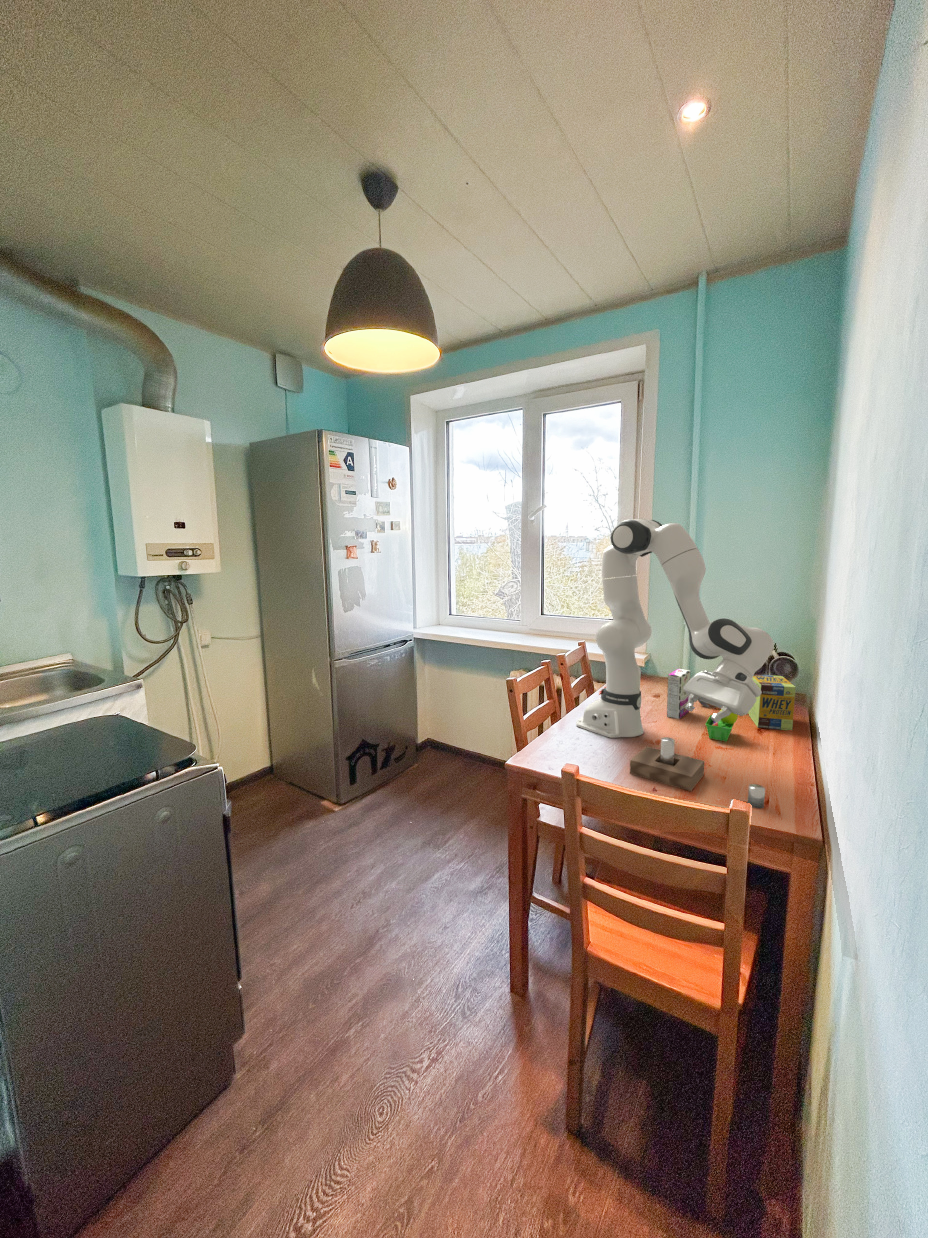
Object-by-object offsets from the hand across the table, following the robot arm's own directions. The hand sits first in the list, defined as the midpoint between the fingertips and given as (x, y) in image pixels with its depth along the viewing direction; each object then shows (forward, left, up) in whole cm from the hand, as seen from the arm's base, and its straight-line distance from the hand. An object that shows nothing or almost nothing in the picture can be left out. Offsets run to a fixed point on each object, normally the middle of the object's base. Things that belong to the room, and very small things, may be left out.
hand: (700, 715), depth 134 cm
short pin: (+16, -12, -16) cm, 26 cm away
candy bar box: (-19, +43, -16) cm, 49 cm away
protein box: (+9, +54, -16) cm, 57 cm away
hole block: (-6, -9, -16) cm, 19 cm away
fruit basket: (0, +30, -16) cm, 34 cm away
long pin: (-6, -9, -16) cm, 19 cm away
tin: (-9, +60, -16) cm, 62 cm away
